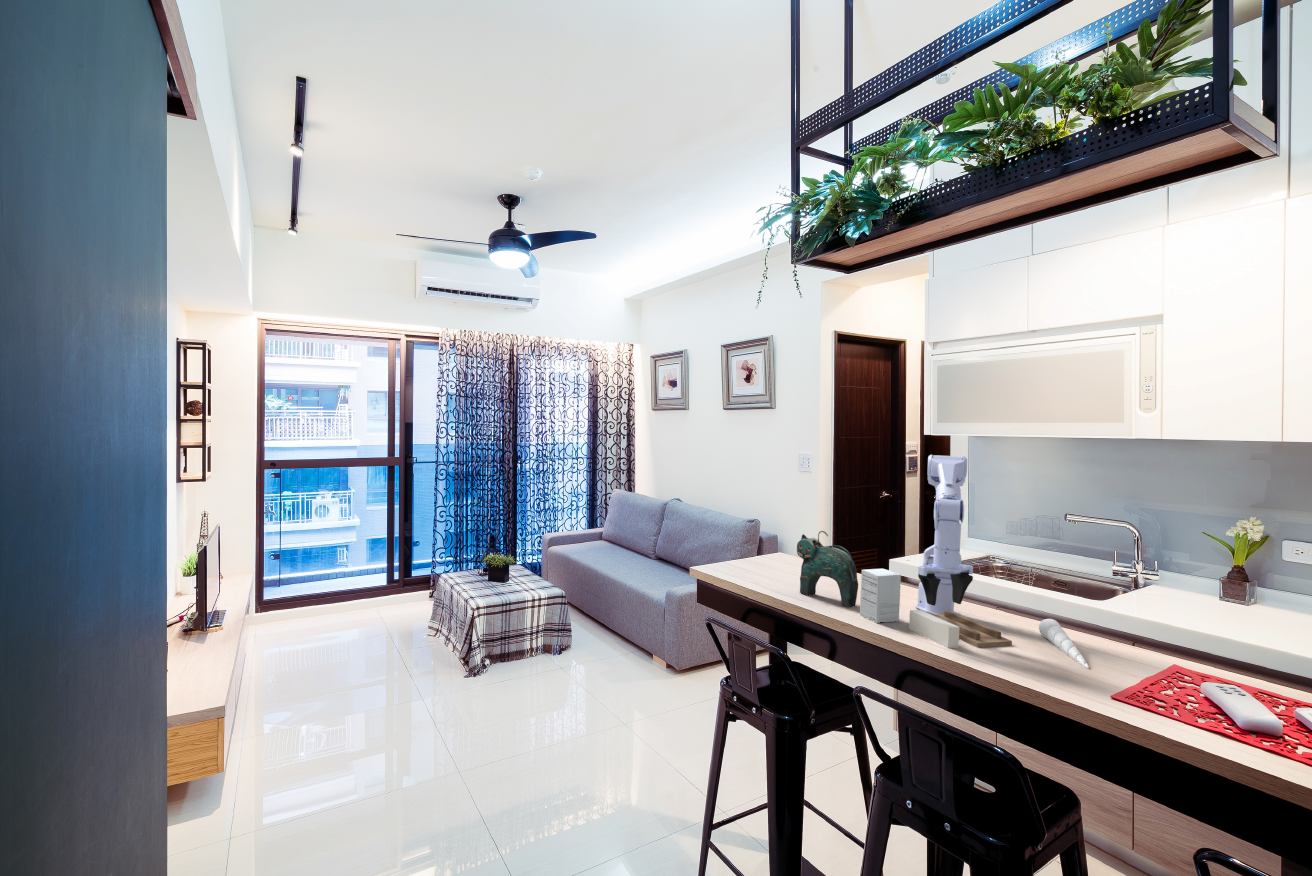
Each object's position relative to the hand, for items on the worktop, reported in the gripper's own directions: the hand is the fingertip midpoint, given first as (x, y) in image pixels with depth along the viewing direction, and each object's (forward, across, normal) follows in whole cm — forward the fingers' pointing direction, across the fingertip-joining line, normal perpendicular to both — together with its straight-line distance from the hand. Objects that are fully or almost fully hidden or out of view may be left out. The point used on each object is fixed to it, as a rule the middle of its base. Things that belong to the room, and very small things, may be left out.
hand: (944, 603), depth 156 cm
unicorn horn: (+9, +25, -12) cm, 29 cm away
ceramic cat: (+9, -10, +37) cm, 39 cm away
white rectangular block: (+9, -2, +1) cm, 9 cm away
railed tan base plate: (+9, +9, +4) cm, 13 cm away
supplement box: (+9, -6, +17) cm, 20 cm away
